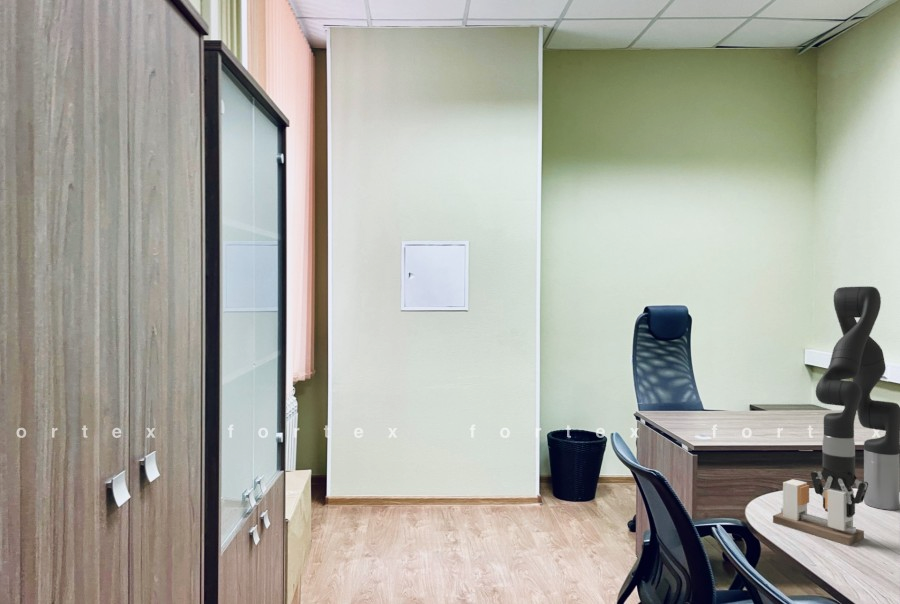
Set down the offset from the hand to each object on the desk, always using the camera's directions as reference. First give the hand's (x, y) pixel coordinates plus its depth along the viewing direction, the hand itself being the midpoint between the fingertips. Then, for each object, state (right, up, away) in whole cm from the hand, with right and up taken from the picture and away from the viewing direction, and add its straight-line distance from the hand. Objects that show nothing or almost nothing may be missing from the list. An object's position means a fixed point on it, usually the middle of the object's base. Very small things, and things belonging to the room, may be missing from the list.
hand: (838, 513), depth 164 cm
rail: (-3, -6, +5) cm, 8 cm away
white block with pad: (0, -3, 0) cm, 3 cm away
